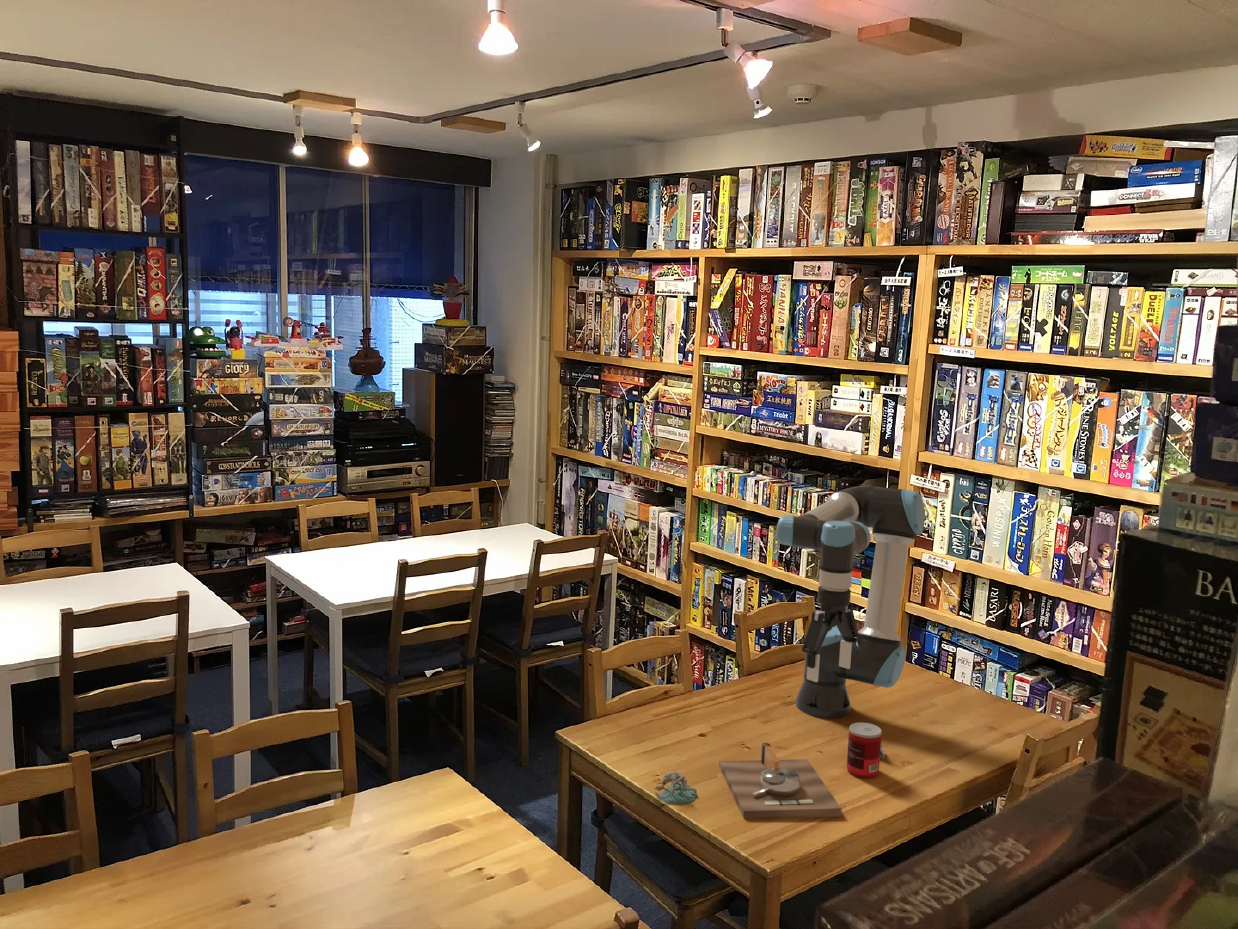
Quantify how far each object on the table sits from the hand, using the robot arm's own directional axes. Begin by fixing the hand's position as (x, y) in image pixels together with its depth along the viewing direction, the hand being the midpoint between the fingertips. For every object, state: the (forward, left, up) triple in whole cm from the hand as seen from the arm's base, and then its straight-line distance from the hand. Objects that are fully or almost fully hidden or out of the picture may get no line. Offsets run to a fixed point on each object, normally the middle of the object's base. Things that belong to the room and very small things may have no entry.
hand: (828, 673), depth 227 cm
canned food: (0, +10, -25) cm, 27 cm away
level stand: (+9, -14, -25) cm, 30 cm away
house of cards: (-8, +14, -26) cm, 30 cm away
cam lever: (+11, -14, -23) cm, 29 cm away
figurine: (+10, -38, -26) cm, 47 cm away
